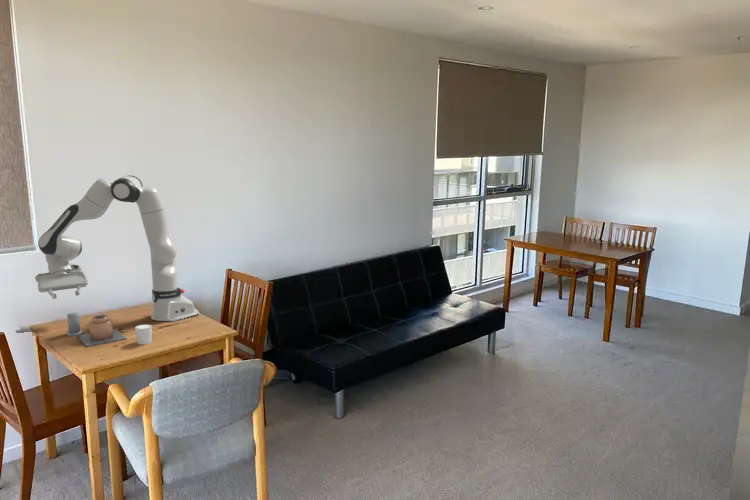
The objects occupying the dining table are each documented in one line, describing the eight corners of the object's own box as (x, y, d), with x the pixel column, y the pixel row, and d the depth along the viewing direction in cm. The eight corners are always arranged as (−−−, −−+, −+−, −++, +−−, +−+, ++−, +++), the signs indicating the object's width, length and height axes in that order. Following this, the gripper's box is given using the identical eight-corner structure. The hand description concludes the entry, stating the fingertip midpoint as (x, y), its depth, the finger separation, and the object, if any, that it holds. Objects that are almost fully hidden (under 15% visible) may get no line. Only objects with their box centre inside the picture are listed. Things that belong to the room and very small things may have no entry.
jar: (116, 329, 259) (114, 309, 257) (126, 339, 247) (125, 318, 245) (77, 336, 249) (75, 315, 247) (86, 347, 237) (84, 324, 235)
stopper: (80, 330, 257) (79, 311, 256) (84, 334, 252) (82, 314, 251) (65, 333, 253) (63, 313, 252) (68, 337, 248) (66, 317, 247)
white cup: (146, 345, 240) (145, 329, 239) (132, 344, 241) (131, 328, 240) (156, 340, 246) (155, 324, 245) (141, 338, 248) (140, 323, 247)
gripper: (34, 270, 256) (40, 296, 251) (84, 265, 269) (91, 289, 263) (34, 278, 260) (39, 303, 255) (83, 272, 273) (89, 296, 267)
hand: (66, 296), depth 259 cm, fingers open, 8 cm apart
